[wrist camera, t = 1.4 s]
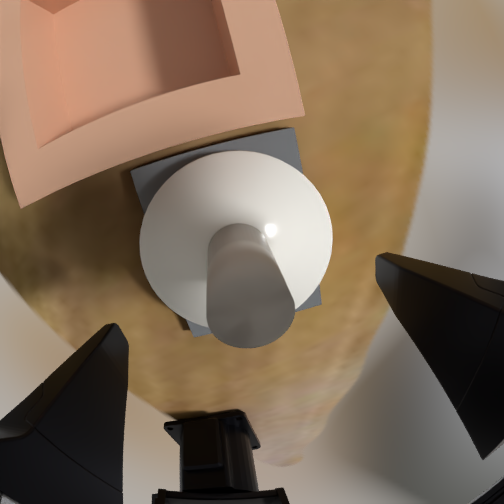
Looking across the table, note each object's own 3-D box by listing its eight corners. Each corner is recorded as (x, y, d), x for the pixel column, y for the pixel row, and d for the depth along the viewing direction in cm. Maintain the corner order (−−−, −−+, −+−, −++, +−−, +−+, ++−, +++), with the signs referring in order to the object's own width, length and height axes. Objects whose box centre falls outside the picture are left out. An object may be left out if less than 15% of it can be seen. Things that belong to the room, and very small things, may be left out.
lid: (333, 296, 15) (376, 363, 10) (180, 335, 15) (173, 415, 10) (310, 131, 11) (374, 139, 7) (117, 182, 11) (61, 222, 6)
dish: (276, 118, 11) (305, 115, 8) (66, 184, 11) (20, 208, 8) (228, -57, 7) (235, -103, 4) (35, 13, 7) (-7, -7, 3)
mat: (318, 298, 16) (321, 304, 15) (194, 330, 15) (194, 337, 15) (290, 127, 12) (294, 127, 11) (133, 168, 11) (130, 171, 11)
